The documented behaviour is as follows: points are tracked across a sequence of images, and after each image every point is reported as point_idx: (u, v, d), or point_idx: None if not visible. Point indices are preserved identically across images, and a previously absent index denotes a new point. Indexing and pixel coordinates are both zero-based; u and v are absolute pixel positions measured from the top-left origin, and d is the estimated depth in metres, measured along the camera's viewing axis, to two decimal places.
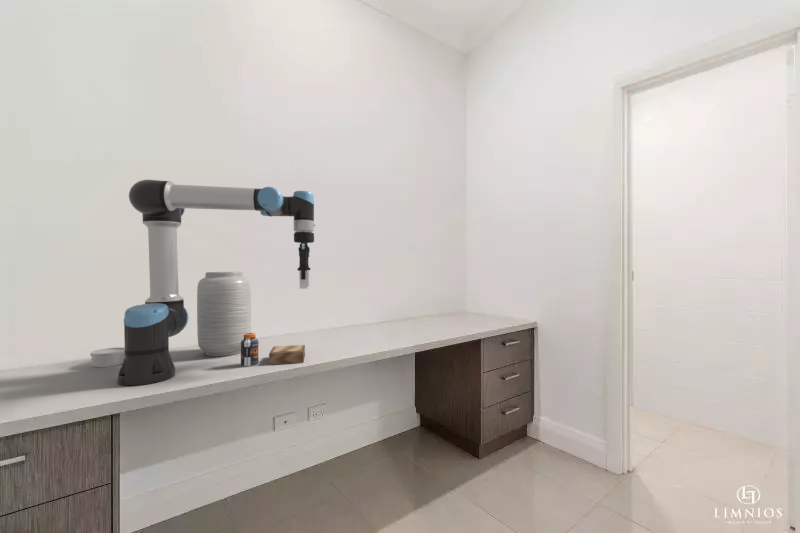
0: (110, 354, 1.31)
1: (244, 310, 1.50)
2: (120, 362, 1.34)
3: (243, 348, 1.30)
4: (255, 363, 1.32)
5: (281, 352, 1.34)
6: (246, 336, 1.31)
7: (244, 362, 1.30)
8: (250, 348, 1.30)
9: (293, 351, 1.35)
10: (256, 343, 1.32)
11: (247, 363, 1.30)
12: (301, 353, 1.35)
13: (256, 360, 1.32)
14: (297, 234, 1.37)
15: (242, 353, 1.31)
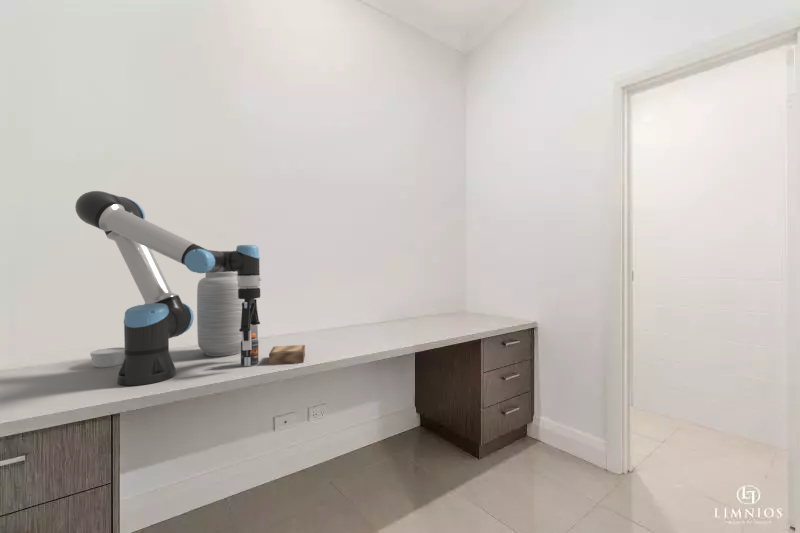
0: (110, 354, 1.31)
1: None
2: (120, 362, 1.34)
3: None
4: (255, 363, 1.32)
5: (281, 352, 1.34)
6: None
7: (244, 362, 1.30)
8: None
9: (293, 351, 1.35)
10: (256, 343, 1.32)
11: (247, 363, 1.30)
12: (301, 353, 1.35)
13: (256, 360, 1.32)
14: (240, 292, 1.30)
15: (242, 353, 1.31)
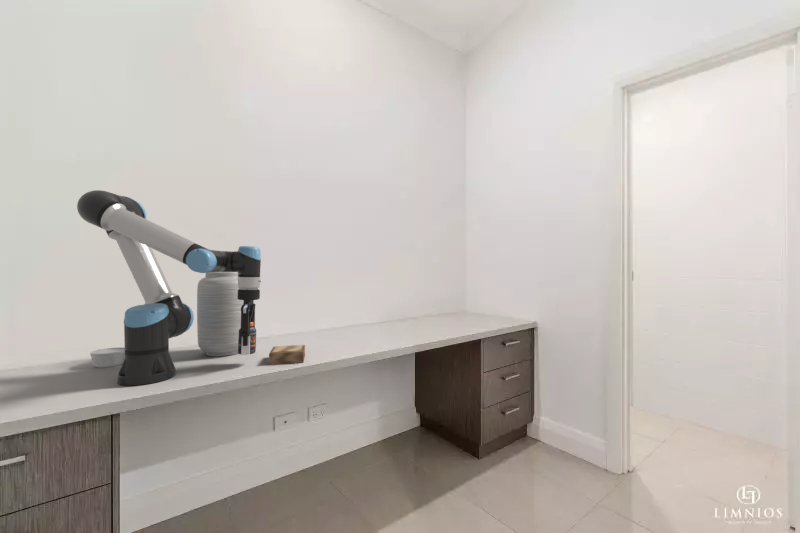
0: (110, 354, 1.31)
1: None
2: (120, 362, 1.34)
3: None
4: (252, 352, 1.32)
5: (281, 352, 1.34)
6: None
7: None
8: None
9: (293, 351, 1.35)
10: (254, 332, 1.32)
11: None
12: (301, 353, 1.35)
13: (253, 349, 1.32)
14: (240, 292, 1.30)
15: (239, 341, 1.30)
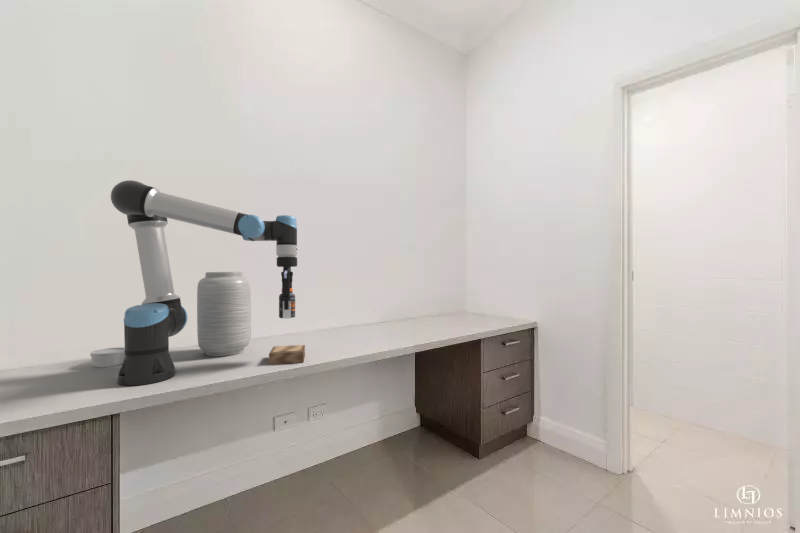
0: (110, 354, 1.31)
1: (244, 310, 1.50)
2: (120, 362, 1.34)
3: (282, 301, 1.37)
4: (293, 316, 1.38)
5: (281, 352, 1.34)
6: None
7: None
8: None
9: (293, 351, 1.35)
10: (293, 297, 1.39)
11: None
12: (301, 353, 1.35)
13: (293, 313, 1.39)
14: (279, 259, 1.36)
15: (281, 306, 1.37)
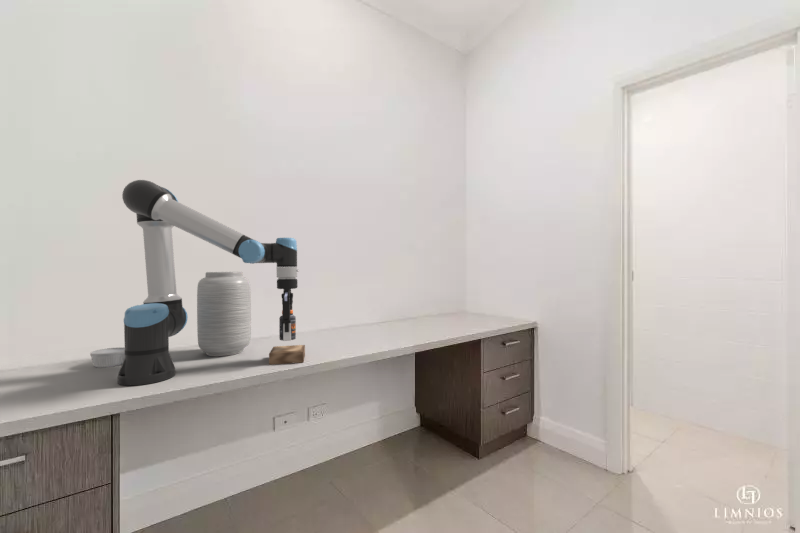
0: (110, 354, 1.31)
1: (244, 310, 1.50)
2: (120, 362, 1.34)
3: None
4: (293, 338, 1.38)
5: (281, 352, 1.34)
6: None
7: None
8: None
9: (293, 351, 1.35)
10: (294, 319, 1.39)
11: None
12: (301, 353, 1.35)
13: (294, 335, 1.39)
14: (279, 282, 1.36)
15: (281, 328, 1.37)
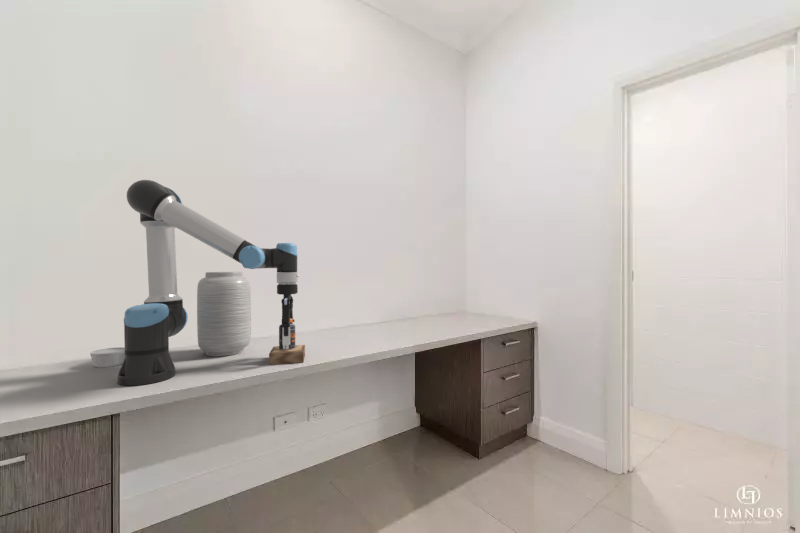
0: (110, 354, 1.31)
1: (244, 310, 1.50)
2: (120, 362, 1.34)
3: None
4: (293, 347, 1.38)
5: (281, 352, 1.34)
6: None
7: (283, 345, 1.37)
8: None
9: (293, 351, 1.35)
10: (293, 328, 1.39)
11: (286, 346, 1.37)
12: (301, 353, 1.35)
13: (293, 344, 1.39)
14: (279, 287, 1.36)
15: (281, 337, 1.37)
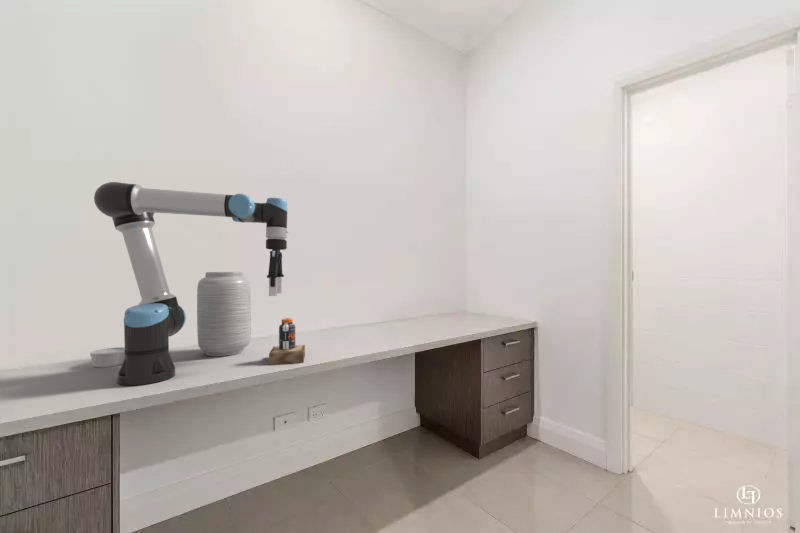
0: (110, 354, 1.31)
1: (244, 310, 1.50)
2: (120, 362, 1.34)
3: (282, 332, 1.37)
4: (293, 347, 1.38)
5: (281, 352, 1.34)
6: (284, 321, 1.38)
7: (283, 345, 1.37)
8: (288, 333, 1.37)
9: (293, 351, 1.35)
10: (293, 328, 1.39)
11: (286, 346, 1.37)
12: (301, 353, 1.35)
13: (293, 344, 1.39)
14: (268, 241, 1.36)
15: (281, 337, 1.37)
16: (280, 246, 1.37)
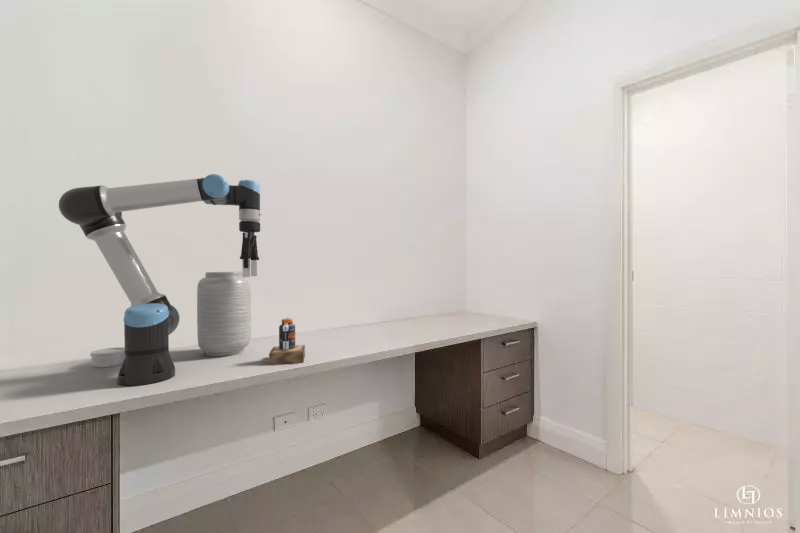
0: (110, 354, 1.31)
1: (244, 310, 1.50)
2: (120, 362, 1.34)
3: (282, 332, 1.37)
4: (293, 347, 1.38)
5: (281, 352, 1.34)
6: (284, 321, 1.38)
7: (283, 345, 1.37)
8: (288, 333, 1.37)
9: (293, 351, 1.35)
10: (293, 328, 1.39)
11: (286, 346, 1.37)
12: (301, 353, 1.35)
13: (293, 344, 1.39)
14: (241, 224, 1.37)
15: (281, 337, 1.37)
16: (253, 228, 1.38)
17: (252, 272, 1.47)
